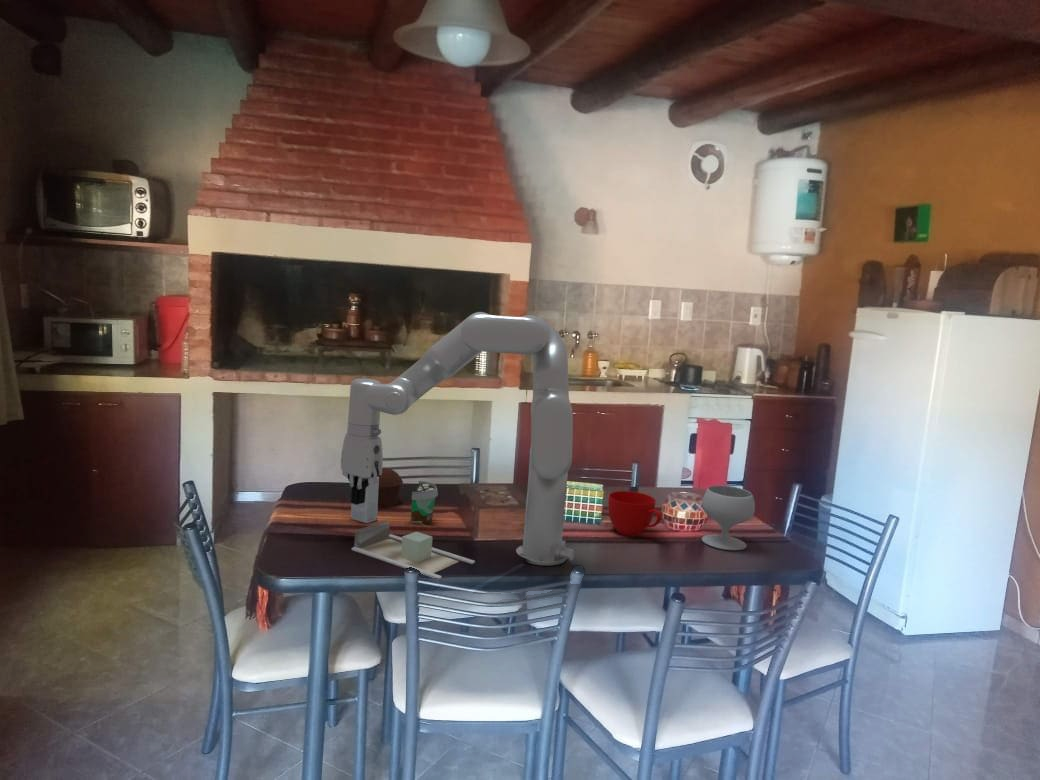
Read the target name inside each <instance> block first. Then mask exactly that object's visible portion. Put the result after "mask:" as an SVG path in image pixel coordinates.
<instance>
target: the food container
mask: <svg viewBox="0 0 1040 780" xmlns="http://www.w3.org/2000/svg"><path fill="white" fill-rule="evenodd" d="M438 495H439V492H438V488H437V485H436V484H435V483H432V482H429V481H425V480H418V486H416V487H415V489H414V491H412V492H411V511H410V512H411V513H410V514H411V515H410V524H411V523H412V524H423V525H426V526H430V525H431V524H432V522H433V515H434V510H435V509H434V508H435V500H436V498H437V497H438Z"/></svg>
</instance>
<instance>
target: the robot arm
mask: <svg viewBox="0 0 1040 780" xmlns="http://www.w3.org/2000/svg"><path fill="white" fill-rule="evenodd" d="M483 352H486V353H487V352H488V353H497V354H513V355H514V354H515V355H530V356H531V359H532V400H531V405H530V413H531V415H530V416H531V417H530V420H531V421H530V429H531V430H530V438H531V439H530V443H531V444H530V449H529V464H528V481H527V492H526V501H525V516H524V517H525V518H524V525H523V526H524V527H523V538H522V544H521V545H519V546H518V547H517V548H516V550H515V552H516V554H517V555H518V556H519V557H522V558H525V559H526V560H524V563H526V564H531V565H535V566H547V567H548V566H558V565H560V564H564V563H565V561H566V560H568V561H573V560H574V559H575V550H574V549H572V548H567V546H566V540H563V533H564V532H563V531H564V520H565V510H566V509H565V508H566V500H567V499H566V498H567V489H568V476H569V475H568V474H569V471H570V468H571V466H572V463H573V439H574V437H573V435H574V434H573V431H574V428H573V427H574V425H573V424H574V423H573V422H574V416H573V415H574V414H573V413H574V412H573V406H572V403H571V401H570V397H569V396H570V395H569V392H570V391H569V390H570V389H569V384H570V383H569V360H568V359H569V358H568V351H567V348H566V345H565V342H564V341H563V338H562V336H561V335H560V334H559V332H558V330H556V329H555V327H554V326H553V325H552V324H550V323H549V322H547V321H546V320H544V319H542V318H541V317H538V316H536V315H532V314H530V315H529V314H528V315H522V316H509V315H508V316H507V315H494V314H489V313H487V312H484V311H476V312H474V313H471V314H470V315H468V316H467V317H466V318H465V319H463V321H461V322H460V323H459V324H458V325H456V326H455V327H454V328H453V329H452V330H450V331H449V332H448V333H447V334H446V335H444V336H443V337H442V338H440V339H439V340H438V341H437V342H435V344H433V345H432V346H431V347H430V348H429V349H427V351H426V352H425V353H424V355H422V357H421V358H419V360H417V361H415V363H413V365H411V366H410V367H409V368H408V369H406V370H405V371H403V373H401V374H400V375H399V376H397V377H396V378H395V379H393V381H391V382H389V383H382V382H381V381H379V380H378V379H374V378H356V379H353V380H351V382H350V387H349V400H348V401H349V402H348V415H347V416H348V417H347V430H346V433H345V435H344V439H343V444H342V449H341V457H340V470H341V471H342V472H341V475H342V476H343V477H345V478H347V479H348V481H349V486H350V487H351V495H350V496H351V497H350V504H351V503H352V504H355V505H358V504H361V503H364V502H365V492H366V488H367V487H368V485H369V484H376V483H377V482H378V480H377V476H381V474H382V468H383V463H384V462H383V454H384V453H383V443H382V442H383V441H382V437H380V435H381V433H382V430H381V428H380V421H381V420H380V419H381V413H383V414H388V415H394V416H396V415H397V416H398V415H402V414H404V413H406V412H407V410H409V408H411V406H413V405H414V403H416V402H417V401H418V400H419V399H420V398H422V397H423V396H424V395H426V393H428V392H430V390H432V389H433V388H435V387H436V386H437V385H438V384H440V383H441V382H442V381H445V380H447V379H449V378H451V377H452V376H454V375H456V373H458V372H459V371H460V370H461V369H463V368H464V367H465V366H467V364H469V363H470V362H472V360H474V359H475V358H476V357H478V356H479V355H480V354H482V353H483ZM363 480H364V481H363Z"/></svg>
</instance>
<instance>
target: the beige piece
mask: <svg viewBox="0 0 1040 780" xmlns="http://www.w3.org/2000/svg"><path fill="white" fill-rule="evenodd" d="M390 525H391V523H390V522H388V521H385V520H384V521H380V522H376V523H374V524H370V525H368V526H365V527H362V528H358V529H355V530H354V543H353V544H354V546H353V547H357V548H360V549H363V550H366V551H369V552H372V553H375V554H378V555H381V556H384V557H387V558H390V559H393V560H396V561H399V562H402V563H404V564H407V565H410V566H413V567H416V568H419V569H422V570H425V571H428V572H431V573H434V574H436V573H437V572H440V571H441V570H444V569H446V568H449V567H451V566H452V565H455V564H457V563H459V562H460V561H461V560H458V559H454V558H451V557H448V556H445V555H442V554H439V553H436V552H432V553H431V557H430V558H428V559H425V560H423V561H421V562H418V563H417V562H414V561H411V560H408V559H405V558H402V557H401V548H402V542H401V541H398V540H395V539H392V538H389V535H390Z"/></svg>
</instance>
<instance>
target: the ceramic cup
mask: <svg viewBox="0 0 1040 780" xmlns="http://www.w3.org/2000/svg"><path fill="white" fill-rule="evenodd" d="M656 502H657V501H656V499H655V498H654V497H653V496H651V495H649V494H645V493H642V492H637V491H632V490H631V491H627V490H624V491H623V490H621V491H620V490H618V491H613V492H610V493H609V495H608V504H607V505H608V506H607V507H608V508H607V509H608V515H609V519H610V522H611V524H612V526H613V527H614V528H615V530H616V532H617V533H618V534H621V535H624V536H632V537H635V536H636V537H637V536H640V535H641V534H642V533H643V532H644V531H646V529H647V528H653V527H657V525H659V524H660V522H661V520H662V515H661V512H660V511H659V510H658V509H655V508H656ZM654 513H655V515H656V521H655V522H654V523H651V522H652V519H653V517H654Z"/></svg>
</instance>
